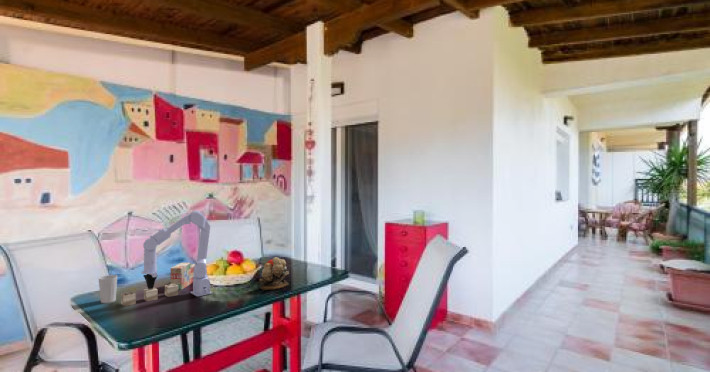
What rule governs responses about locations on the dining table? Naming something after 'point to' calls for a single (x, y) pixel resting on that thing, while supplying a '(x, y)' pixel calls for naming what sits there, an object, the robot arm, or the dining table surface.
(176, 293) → the dotted block
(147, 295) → the plain block
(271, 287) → the brown lumpy figurine
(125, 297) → the dotted block
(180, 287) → the stack of blocks
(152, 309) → the dining table surface
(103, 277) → the cup
